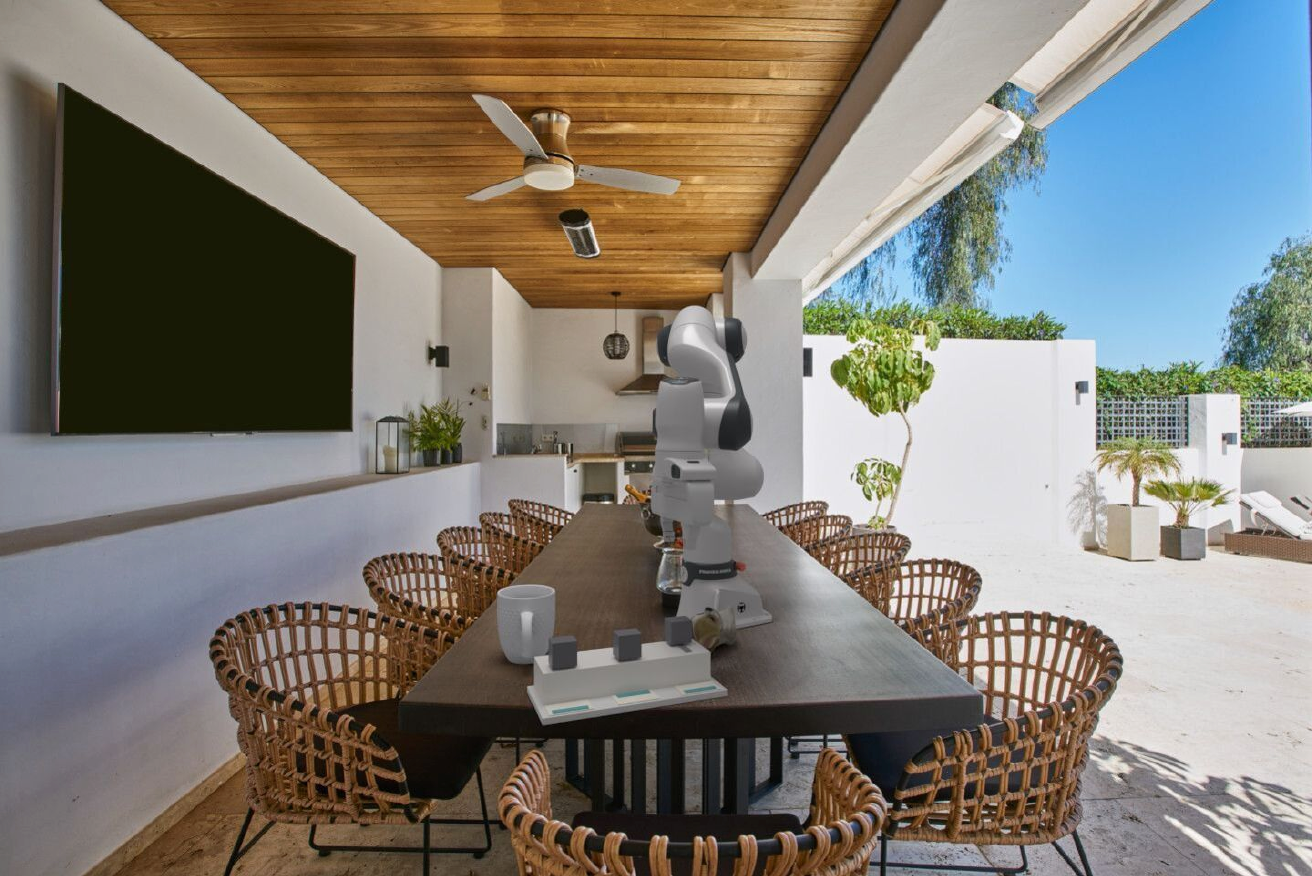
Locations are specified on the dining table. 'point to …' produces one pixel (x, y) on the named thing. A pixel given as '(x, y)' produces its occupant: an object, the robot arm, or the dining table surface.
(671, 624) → the slider
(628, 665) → the switch unit
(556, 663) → the slider
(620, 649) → the slider middle
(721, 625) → the ceramic sculpture
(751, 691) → the dining table surface
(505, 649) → the mug
